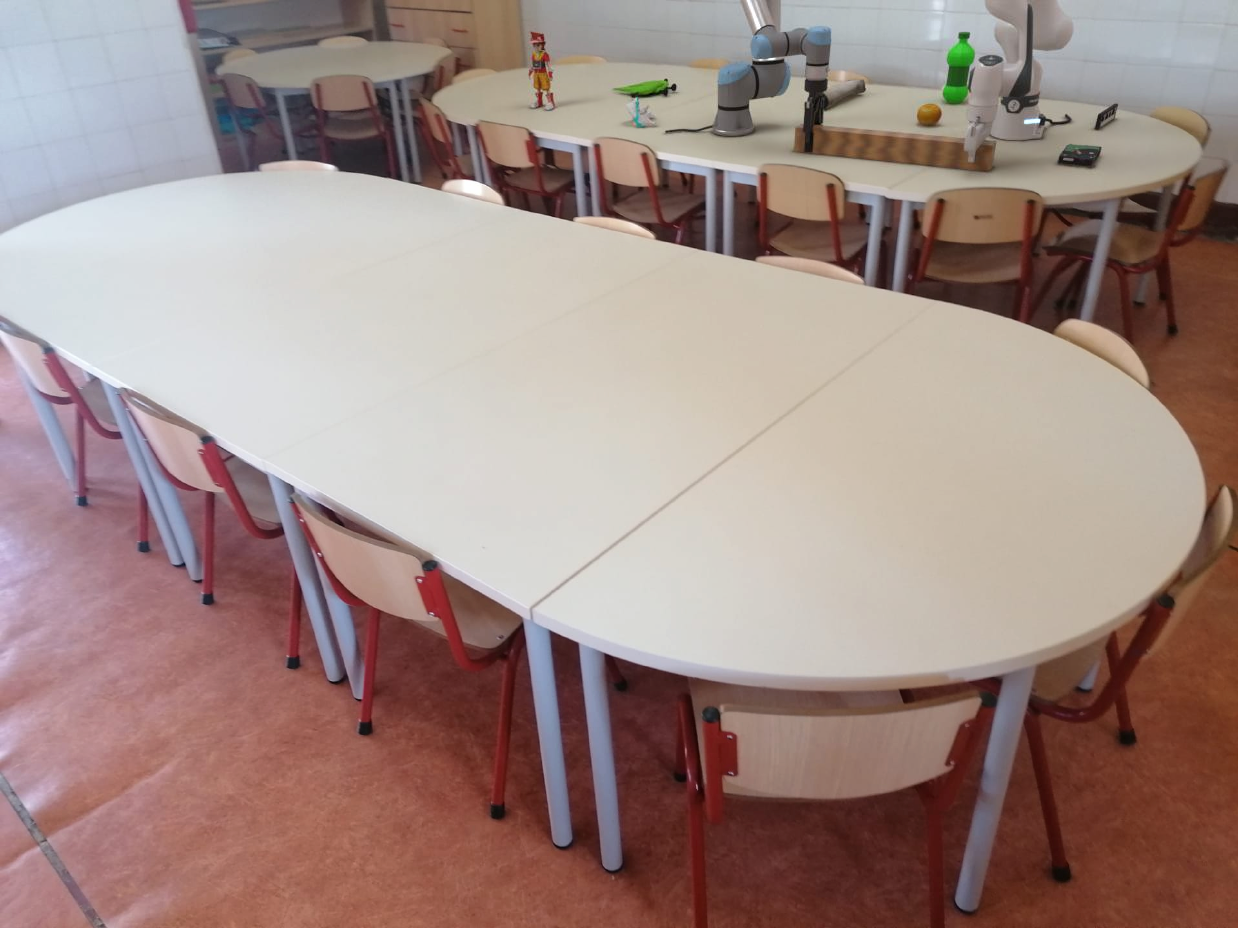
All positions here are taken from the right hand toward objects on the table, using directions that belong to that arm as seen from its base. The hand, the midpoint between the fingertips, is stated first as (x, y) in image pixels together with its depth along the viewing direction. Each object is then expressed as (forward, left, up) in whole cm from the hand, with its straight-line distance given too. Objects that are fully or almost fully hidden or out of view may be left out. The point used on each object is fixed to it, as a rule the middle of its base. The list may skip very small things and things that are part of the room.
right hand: (973, 158), depth 286 cm
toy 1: (-2, -184, -3) cm, 184 cm away
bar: (+3, -27, -3) cm, 27 cm away
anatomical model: (+1, -130, -3) cm, 130 cm away
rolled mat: (-61, -76, -3) cm, 98 cm away
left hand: (+6, -54, -2) cm, 54 cm away
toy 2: (-43, -161, -3) cm, 167 cm away
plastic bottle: (-78, -34, -3) cm, 85 cm away
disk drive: (-22, +27, -3) cm, 35 cm away
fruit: (-43, -31, -3) cm, 53 cm away
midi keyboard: (-69, +24, -3) cm, 73 cm away
